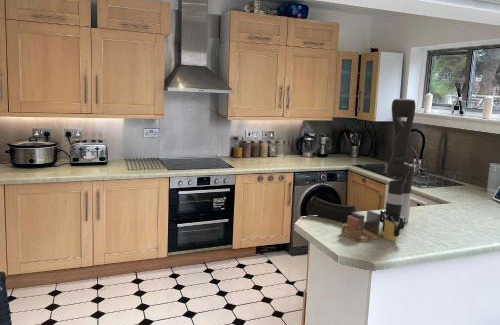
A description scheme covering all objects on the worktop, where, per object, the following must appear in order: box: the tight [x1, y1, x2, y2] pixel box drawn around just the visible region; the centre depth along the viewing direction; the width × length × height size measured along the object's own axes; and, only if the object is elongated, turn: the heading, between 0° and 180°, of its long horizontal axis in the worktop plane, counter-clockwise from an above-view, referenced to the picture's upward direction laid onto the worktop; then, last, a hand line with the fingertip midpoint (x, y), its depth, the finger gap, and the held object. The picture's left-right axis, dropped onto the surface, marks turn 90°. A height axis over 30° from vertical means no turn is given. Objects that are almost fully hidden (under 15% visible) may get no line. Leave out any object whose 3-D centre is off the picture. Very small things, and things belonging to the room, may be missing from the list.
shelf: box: [340, 211, 384, 243], centre depth 209 cm, size 17×12×12 cm
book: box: [383, 220, 398, 242], centre depth 207 cm, size 4×6×9 cm, turn 30°
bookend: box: [365, 210, 381, 234], centre depth 212 cm, size 1×8×10 cm, turn 30°
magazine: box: [305, 195, 357, 224], centre depth 233 cm, size 17×3×30 cm
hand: (390, 233), depth 208 cm, fingers open, 7 cm apart
